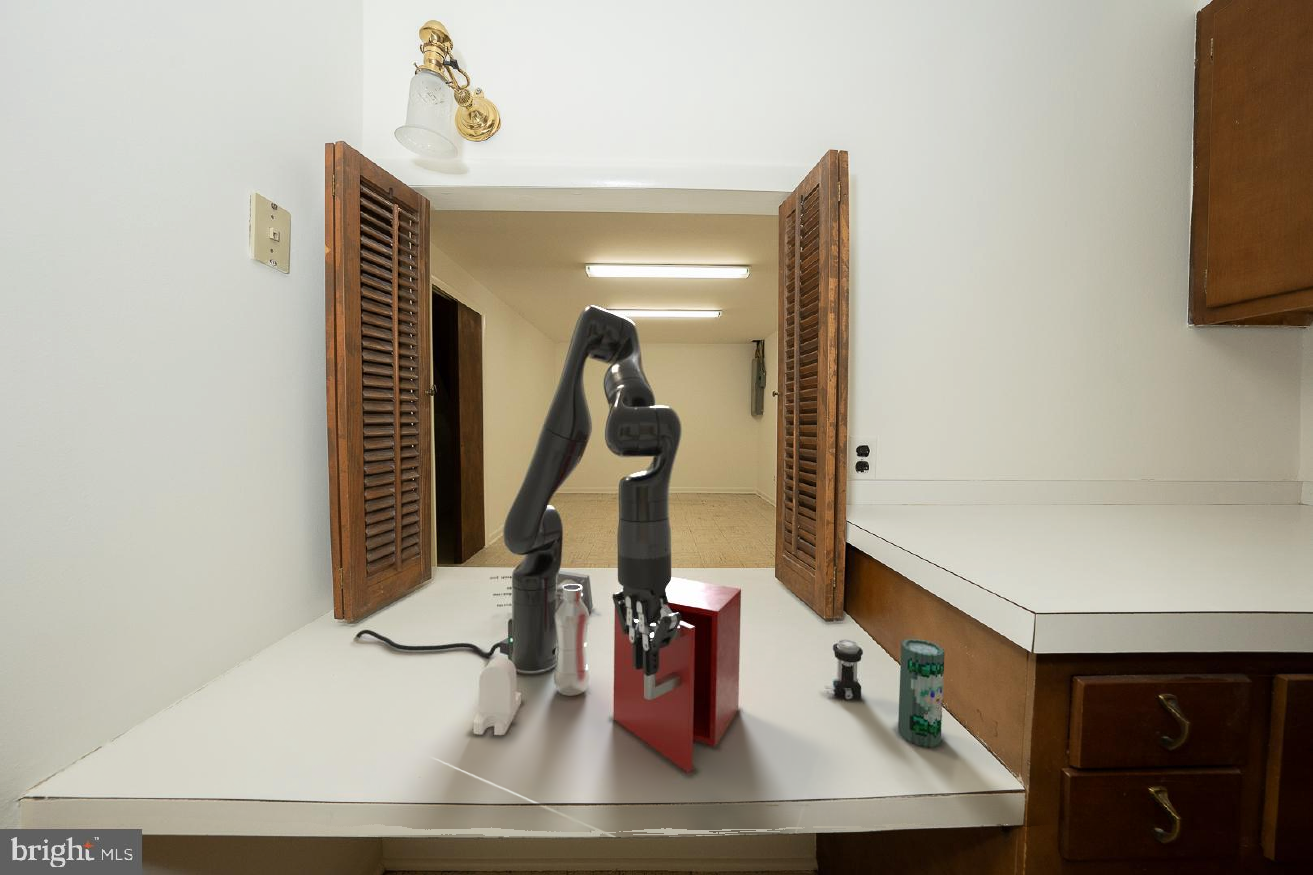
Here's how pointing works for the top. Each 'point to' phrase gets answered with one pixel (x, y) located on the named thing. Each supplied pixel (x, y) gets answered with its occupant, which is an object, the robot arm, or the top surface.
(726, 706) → the red upright rectangular box
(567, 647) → the plastic bottle
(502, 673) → the cable organizer
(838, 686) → the push button
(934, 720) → the can
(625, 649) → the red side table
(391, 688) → the top surface
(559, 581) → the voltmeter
